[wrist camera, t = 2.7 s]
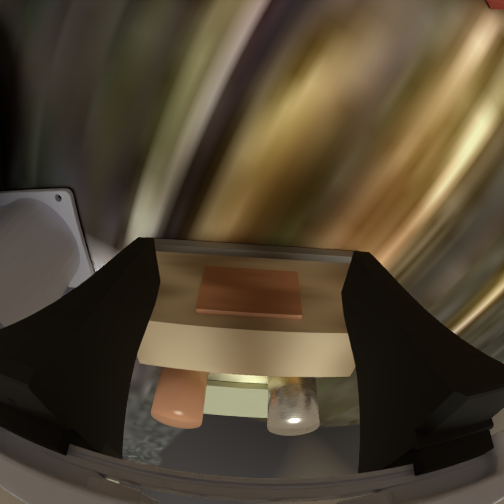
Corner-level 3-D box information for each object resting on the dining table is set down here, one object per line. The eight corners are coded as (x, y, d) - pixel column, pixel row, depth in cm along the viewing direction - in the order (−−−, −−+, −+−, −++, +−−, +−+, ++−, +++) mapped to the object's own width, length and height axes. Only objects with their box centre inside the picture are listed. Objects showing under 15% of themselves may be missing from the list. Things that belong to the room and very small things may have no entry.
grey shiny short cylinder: (266, 375, 27) (265, 435, 22) (270, 351, 25) (270, 417, 20) (308, 377, 27) (313, 435, 22) (318, 352, 25) (325, 417, 20)
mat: (189, 406, 32) (188, 411, 32) (181, 377, 28) (180, 382, 27) (276, 413, 32) (276, 417, 32) (285, 384, 28) (285, 390, 27)
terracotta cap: (168, 367, 27) (156, 424, 22) (162, 342, 25) (145, 404, 20) (211, 372, 27) (203, 430, 22) (209, 347, 25) (199, 412, 20)
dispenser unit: (157, 296, 21) (134, 366, 17) (146, 237, 18) (111, 309, 14) (340, 308, 21) (355, 380, 17) (358, 251, 18) (385, 326, 14)
